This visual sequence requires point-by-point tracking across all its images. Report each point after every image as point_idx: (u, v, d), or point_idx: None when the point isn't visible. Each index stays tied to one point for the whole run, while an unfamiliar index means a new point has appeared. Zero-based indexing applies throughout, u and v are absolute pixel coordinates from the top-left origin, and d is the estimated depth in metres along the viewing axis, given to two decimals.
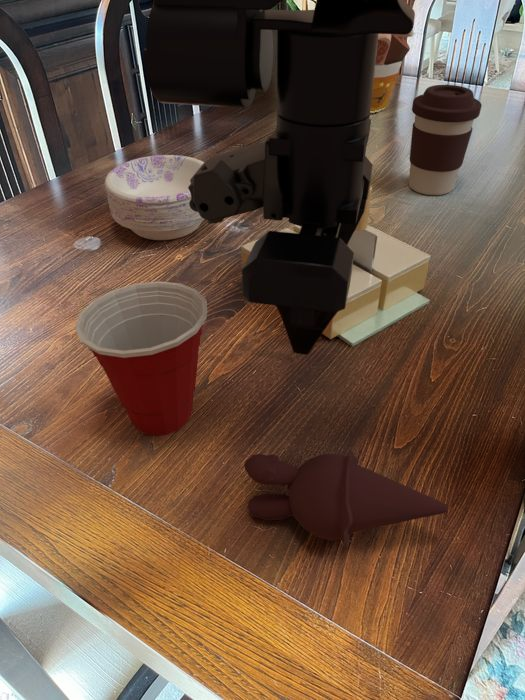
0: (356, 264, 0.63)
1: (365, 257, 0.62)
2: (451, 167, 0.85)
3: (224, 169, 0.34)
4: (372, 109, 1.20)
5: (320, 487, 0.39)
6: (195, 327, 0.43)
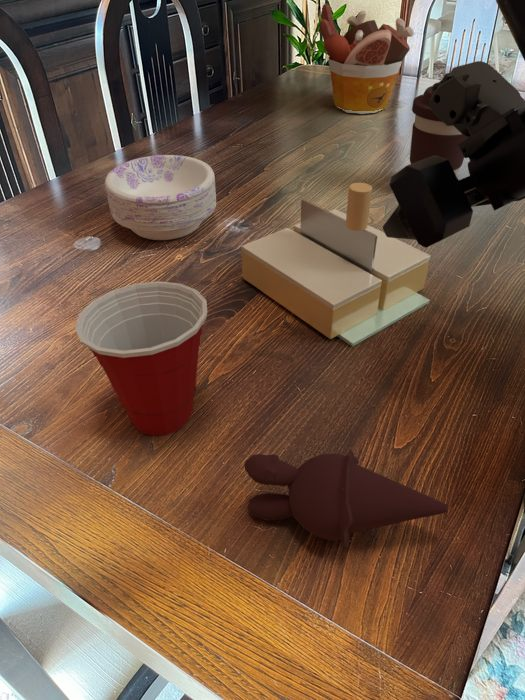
0: (356, 264, 0.63)
1: (365, 257, 0.62)
2: None
3: (473, 93, 0.41)
4: (372, 109, 1.20)
5: (320, 486, 0.39)
6: (195, 327, 0.43)
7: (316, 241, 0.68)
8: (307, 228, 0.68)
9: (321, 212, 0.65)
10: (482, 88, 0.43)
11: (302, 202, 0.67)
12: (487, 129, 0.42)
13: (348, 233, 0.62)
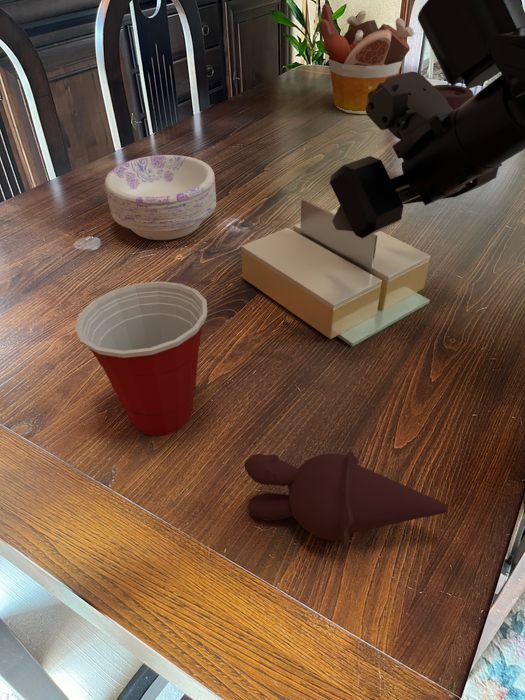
0: (356, 264, 0.63)
1: (365, 257, 0.62)
2: None
3: (402, 101, 0.46)
4: None
5: (320, 486, 0.39)
6: (195, 327, 0.43)
7: (316, 241, 0.68)
8: (307, 228, 0.68)
9: (321, 212, 0.65)
10: (412, 96, 0.48)
11: (302, 202, 0.67)
12: (415, 133, 0.47)
13: (348, 233, 0.62)
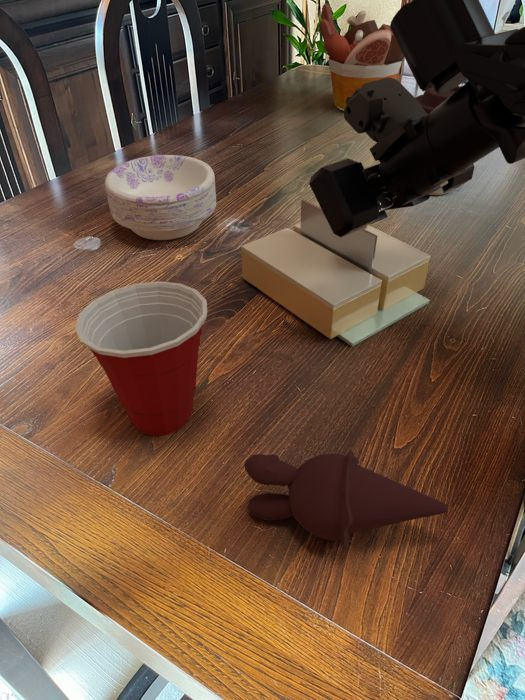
0: (356, 264, 0.64)
1: (365, 257, 0.62)
2: None
3: (377, 106, 0.48)
4: None
5: (320, 486, 0.39)
6: (195, 327, 0.43)
7: (316, 241, 0.68)
8: (307, 228, 0.68)
9: (321, 212, 0.65)
10: (387, 101, 0.50)
11: (302, 202, 0.67)
12: (390, 136, 0.49)
13: None
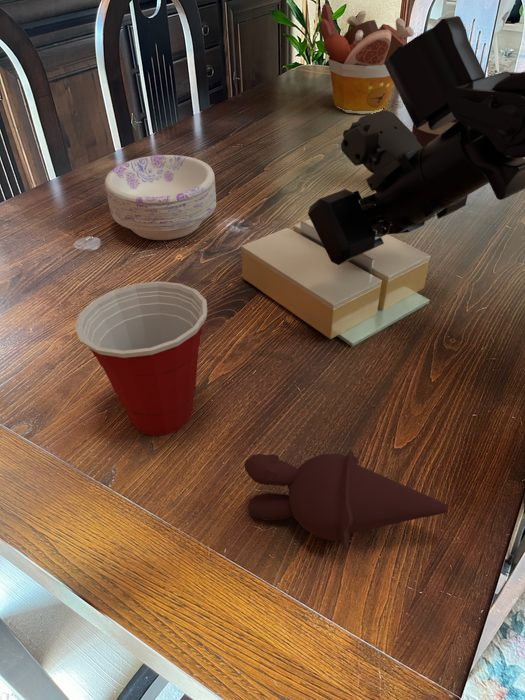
0: None
1: None
2: None
3: (373, 140, 0.50)
4: (372, 109, 1.20)
5: (320, 486, 0.39)
6: (195, 327, 0.43)
7: None
8: None
9: None
10: (383, 134, 0.52)
11: (301, 224, 0.68)
12: (385, 169, 0.51)
13: None
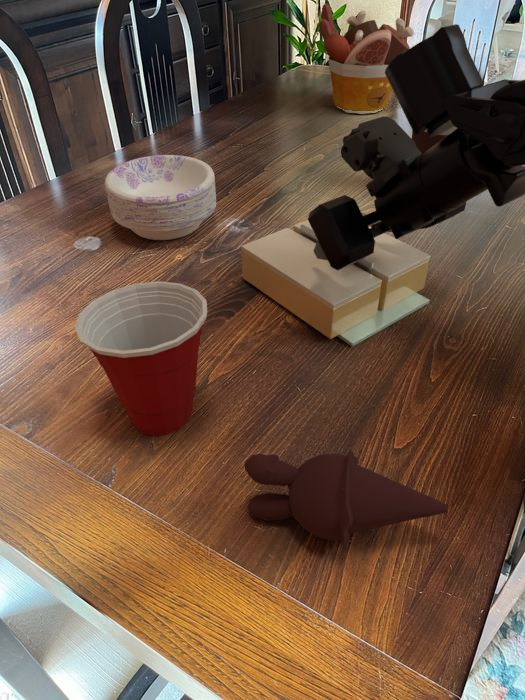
0: None
1: None
2: None
3: (372, 146, 0.51)
4: (372, 109, 1.20)
5: (320, 486, 0.39)
6: (195, 327, 0.43)
7: None
8: None
9: None
10: (382, 140, 0.52)
11: (301, 228, 0.69)
12: (385, 175, 0.51)
13: None
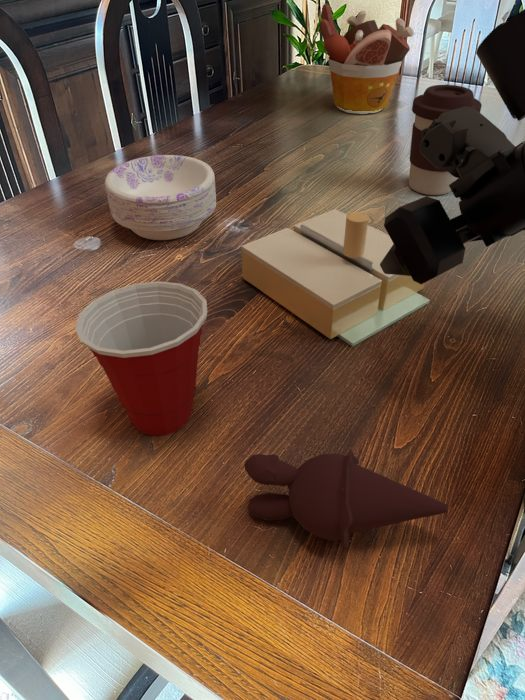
0: None
1: None
2: None
3: (461, 137, 0.43)
4: (372, 109, 1.20)
5: (320, 486, 0.39)
6: (195, 327, 0.43)
7: None
8: None
9: (319, 238, 0.67)
10: (469, 132, 0.45)
11: (301, 228, 0.69)
12: (475, 170, 0.44)
13: (345, 259, 0.65)
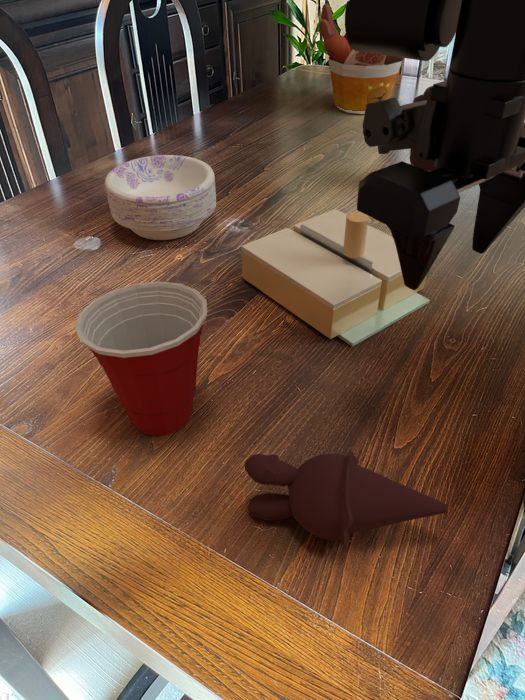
0: None
1: None
2: None
3: (392, 105, 0.41)
4: None
5: (320, 486, 0.39)
6: (195, 327, 0.43)
7: None
8: None
9: (319, 238, 0.67)
10: (406, 106, 0.43)
11: (301, 228, 0.69)
12: (424, 120, 0.40)
13: (345, 259, 0.65)
